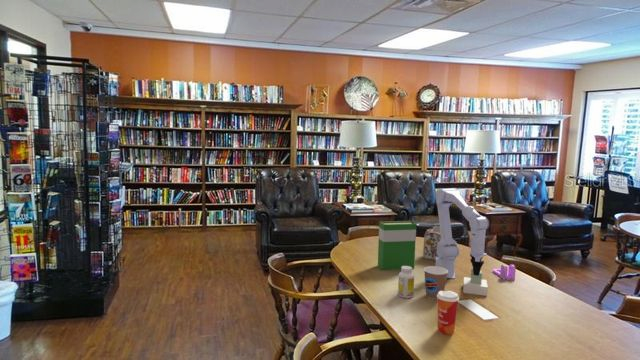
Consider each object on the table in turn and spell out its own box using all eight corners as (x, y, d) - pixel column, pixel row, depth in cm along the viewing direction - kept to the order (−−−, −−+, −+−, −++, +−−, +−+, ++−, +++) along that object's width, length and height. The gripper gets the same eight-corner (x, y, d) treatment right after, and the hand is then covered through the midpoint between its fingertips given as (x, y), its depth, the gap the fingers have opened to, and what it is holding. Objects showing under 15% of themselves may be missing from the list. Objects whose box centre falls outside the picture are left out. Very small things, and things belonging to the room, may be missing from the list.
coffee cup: (417, 295, 184) (418, 269, 182) (431, 290, 190) (432, 264, 189) (437, 303, 176) (439, 275, 174) (451, 297, 182) (452, 270, 181)
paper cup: (431, 326, 155) (433, 289, 153) (452, 325, 155) (454, 289, 154) (439, 336, 147) (441, 298, 145) (460, 336, 147) (463, 298, 146)
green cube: (470, 283, 189) (471, 272, 188) (470, 279, 193) (471, 269, 192) (481, 284, 187) (482, 273, 187) (480, 281, 192) (481, 270, 191)
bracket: (514, 279, 207) (515, 266, 206) (504, 279, 206) (505, 266, 205) (500, 271, 219) (501, 258, 219) (490, 271, 219) (491, 258, 218)
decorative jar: (443, 262, 232) (444, 230, 230) (422, 258, 238) (424, 227, 236) (448, 256, 242) (450, 226, 240) (428, 253, 249) (430, 223, 246)
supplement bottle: (414, 294, 185) (415, 266, 184) (412, 299, 179) (413, 270, 177) (399, 291, 187) (400, 264, 186) (396, 297, 181) (398, 268, 180)
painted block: (463, 292, 188) (463, 284, 187) (463, 285, 197) (463, 277, 197) (487, 296, 184) (487, 287, 184) (486, 288, 194) (486, 279, 193)
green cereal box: (408, 264, 227) (410, 220, 225) (414, 268, 220) (416, 223, 217) (377, 265, 224) (379, 221, 221) (382, 270, 217) (384, 224, 214)
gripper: (488, 248, 180) (486, 278, 182) (486, 240, 194) (484, 268, 195) (471, 246, 182) (469, 276, 184) (470, 238, 196) (468, 266, 198)
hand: (475, 272), depth 190 cm, fingers open, 7 cm apart
